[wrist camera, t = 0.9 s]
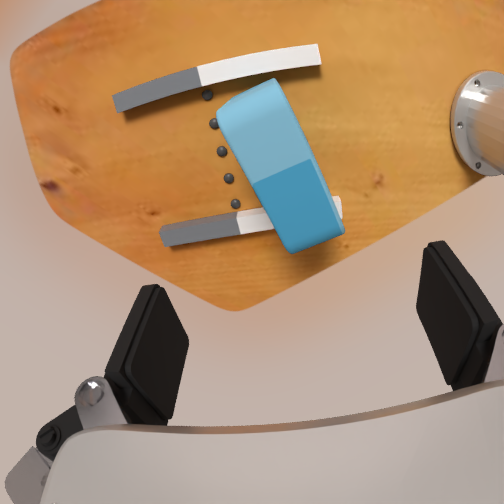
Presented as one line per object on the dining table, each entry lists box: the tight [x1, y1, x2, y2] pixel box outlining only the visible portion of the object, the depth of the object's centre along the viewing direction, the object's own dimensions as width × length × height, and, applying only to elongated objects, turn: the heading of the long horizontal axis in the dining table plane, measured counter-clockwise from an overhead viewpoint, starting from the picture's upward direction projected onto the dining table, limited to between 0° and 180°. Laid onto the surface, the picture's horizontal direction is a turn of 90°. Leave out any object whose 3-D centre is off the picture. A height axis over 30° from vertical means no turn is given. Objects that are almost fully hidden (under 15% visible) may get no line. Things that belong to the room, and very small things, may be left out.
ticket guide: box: [112, 44, 342, 247], centre depth 30 cm, size 20×18×2 cm
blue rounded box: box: [216, 78, 345, 254], centre depth 25 cm, size 12×4×12 cm, turn 27°
